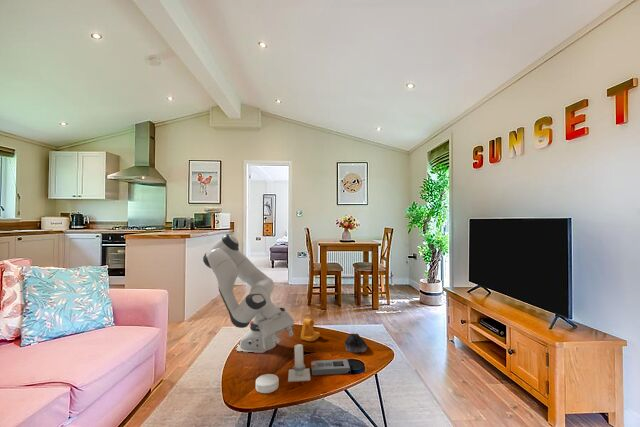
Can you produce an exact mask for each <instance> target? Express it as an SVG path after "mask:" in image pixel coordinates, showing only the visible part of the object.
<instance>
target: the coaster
mask: <svg viewBox="0 0 640 427" xmlns="http://www.w3.org/2000/svg"><path fill="white" fill-rule="evenodd" d="M279 380H280V379H279V377H278V376H277V375H276V374H272V373H265V374H262V375H259V376H258V377H257V378H256V379H255V390H256V391H257V392H258V393H260V394H270V393H272V392H275V391H277V389H278V388H279V386H280V385H279V383H280V382H279Z"/></svg>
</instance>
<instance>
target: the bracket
mask: <svg viewBox="0 0 640 427" xmlns="http://www.w3.org/2000/svg"><path fill="white" fill-rule="evenodd" d="M314 326H315V320H314V319H313V318H307V317H305V318H304V319H303V322H302V327H301V332H300V339H301V340H303V341H306V342H314V341H317V339H319V337H320V336H321V334H320V332H319V331H315V329H314Z"/></svg>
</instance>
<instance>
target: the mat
mask: <svg viewBox="0 0 640 427" xmlns="http://www.w3.org/2000/svg"><path fill="white" fill-rule="evenodd" d="M310 370H311V369H310V368H305V369H304V375H303V376H296V375H295V370H294V369H293V368H292V369H291V368H290V369H288V375H287V376H288V378H287V382H288V383H293V382H309V381H311V371H310Z"/></svg>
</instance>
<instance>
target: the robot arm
mask: <svg viewBox="0 0 640 427" xmlns="http://www.w3.org/2000/svg"><path fill="white" fill-rule="evenodd" d="M239 245H240V244H239V241H238V239H237V238H236V237H235V236H234V235H232V234H229V233H226V234H224V235H222V236H221V238H219V239H218V240H217V241H216V242H214V243H213V245H212V246H211V247H210V248H209V249H208V251H207V252H205V253H204V255H203V257H202V259H203V260H202V261H203V263H204V265H205V266H206V267H207V268H209V269H211V270H212V272H213V273H214V276H215V278H216V281H217V285H218V292H219V294H220V297H221V299H222V301H223V303H224V305H225V307H226V309H227V311H228V315H229V318H230V321H231V324H232V325H233V326H235V328H241V329H244V328H247V327H248V326H249V329H247V331H246V332H244V334H242V335H241V338H240V342H239V343H240V345H239V343H238V344H237V345H236V347H237V346H238V347H237V348H236V347H235V350H237V351H243V352H242V353H248V352H254V353H255V354H256V353H257V354H262V353H265V352H266V351H267V352H268V351H270V350H272V349H274V348H275V347H276V346H277V344H280V343H281V342H282V339H281V338H280V337H278V336H277V334H279V333H281V332H284V331H286V330H287V331H288V336H289V337H293V336H294V332H293V328H292V327H293V326H294V324H295V320H294V319H293V317H292V316H291V315H290V313H289V312H288V311H287V309H286V307H283V306H282V307H280V306H276V305H275V304H274V303H273V302H272V300H271V295H272V293H273V291H274V289H275V283H274V280H273V279H272V278H271V277H269V276H267V274H265V273H264V272H262V271H261V270H260V269H259V268H257V266H256V265H255V264H254V263H253V262H252V261H251V260H250V259H249V258H248V257H247V256H246V255H245V254H244V253H243V252H242V251H240V249H239ZM237 278H239V279H240V280H241V281H242V282H243V283H246V284H247V285H249V286H250V289H249V290H250V291H249V293H248V295H246V296H245V297H244V298H243V299H242V300H241V302H240V303H238V300H237V299H236V296H235V294H234V286H235V284H236V280H237ZM237 351H236V352H237ZM254 353H253V354H254Z"/></svg>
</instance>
